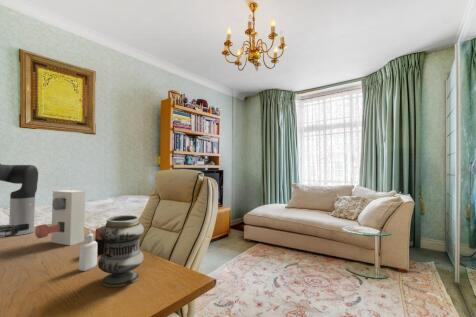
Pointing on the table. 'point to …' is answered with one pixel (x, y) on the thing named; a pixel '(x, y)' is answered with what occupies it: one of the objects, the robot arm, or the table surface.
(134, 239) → the apothecary jar
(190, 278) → the table surface
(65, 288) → the table surface
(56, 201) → the upper grey button
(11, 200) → the robot arm
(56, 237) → the box
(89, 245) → the eye dropper bottle
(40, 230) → the lower red button
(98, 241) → the battery
